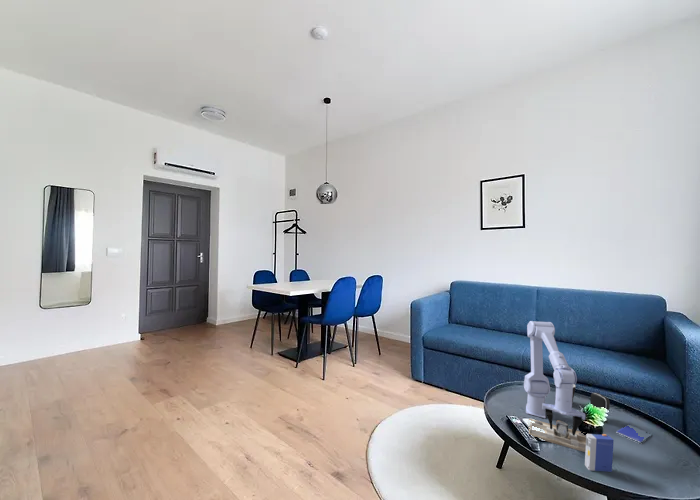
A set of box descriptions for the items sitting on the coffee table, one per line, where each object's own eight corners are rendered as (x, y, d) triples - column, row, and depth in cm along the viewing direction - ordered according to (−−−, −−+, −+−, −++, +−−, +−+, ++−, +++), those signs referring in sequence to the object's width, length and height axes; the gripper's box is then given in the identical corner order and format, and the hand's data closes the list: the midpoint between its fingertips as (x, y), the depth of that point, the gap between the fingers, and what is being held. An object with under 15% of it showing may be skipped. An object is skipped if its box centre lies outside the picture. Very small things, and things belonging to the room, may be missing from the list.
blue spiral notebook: (640, 441, 131) (651, 433, 137) (616, 431, 138) (627, 423, 144) (640, 445, 131) (651, 436, 137) (615, 434, 138) (627, 427, 144)
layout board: (528, 420, 146) (529, 411, 146) (593, 437, 134) (593, 428, 134) (528, 436, 134) (529, 426, 133) (599, 456, 122) (600, 445, 122)
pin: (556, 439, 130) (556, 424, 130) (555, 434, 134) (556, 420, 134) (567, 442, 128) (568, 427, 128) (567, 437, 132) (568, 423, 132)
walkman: (606, 466, 116) (607, 434, 116) (612, 472, 113) (613, 438, 113) (583, 464, 117) (585, 432, 116) (588, 470, 114) (590, 437, 114)
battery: (610, 422, 146) (611, 398, 146) (603, 423, 145) (605, 398, 145) (595, 414, 153) (596, 391, 153) (588, 415, 152) (590, 391, 152)
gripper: (543, 397, 131) (541, 430, 131) (587, 407, 124) (585, 442, 124) (542, 390, 137) (541, 422, 137) (584, 400, 130) (582, 433, 130)
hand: (562, 431), depth 131 cm, fingers open, 7 cm apart
